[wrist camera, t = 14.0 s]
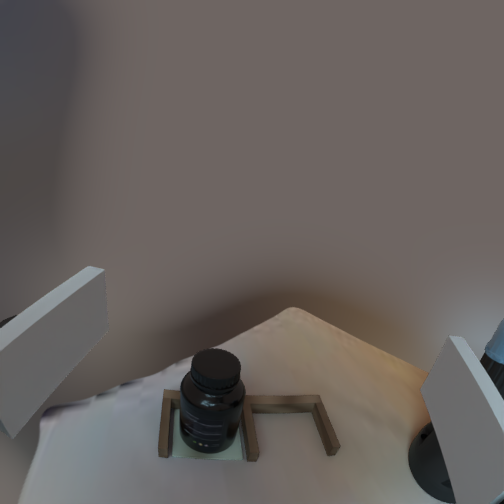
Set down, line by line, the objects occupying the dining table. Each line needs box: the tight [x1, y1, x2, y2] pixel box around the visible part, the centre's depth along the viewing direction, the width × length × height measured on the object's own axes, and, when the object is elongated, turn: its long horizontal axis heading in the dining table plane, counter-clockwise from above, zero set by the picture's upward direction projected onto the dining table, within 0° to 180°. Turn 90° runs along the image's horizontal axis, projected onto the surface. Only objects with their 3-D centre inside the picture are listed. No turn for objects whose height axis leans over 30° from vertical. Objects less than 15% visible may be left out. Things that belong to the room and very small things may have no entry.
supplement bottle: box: [179, 348, 246, 454], centre depth 31 cm, size 7×7×12 cm
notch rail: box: [158, 389, 340, 462], centre depth 34 cm, size 21×10×2 cm, turn 97°
